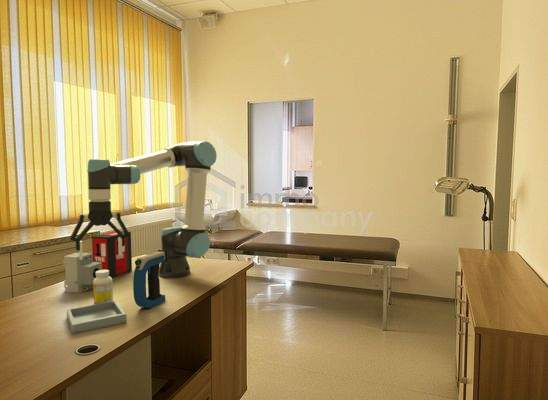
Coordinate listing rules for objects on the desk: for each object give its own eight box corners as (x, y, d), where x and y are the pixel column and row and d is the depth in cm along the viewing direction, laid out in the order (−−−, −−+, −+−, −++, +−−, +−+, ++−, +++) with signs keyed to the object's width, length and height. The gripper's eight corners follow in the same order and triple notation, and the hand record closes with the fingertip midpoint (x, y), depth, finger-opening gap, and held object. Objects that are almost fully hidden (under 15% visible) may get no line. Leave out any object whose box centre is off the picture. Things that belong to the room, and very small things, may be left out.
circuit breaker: (94, 293, 155) (93, 258, 154) (64, 291, 158) (63, 256, 157) (106, 288, 162) (104, 254, 161) (77, 286, 165) (75, 252, 164)
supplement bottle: (97, 301, 146) (96, 269, 145) (115, 300, 146) (114, 268, 145) (91, 307, 139) (89, 273, 138) (109, 307, 140) (108, 273, 139)
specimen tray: (116, 308, 139) (115, 300, 139) (126, 322, 126) (126, 313, 125) (66, 317, 130) (66, 309, 130) (72, 334, 117) (72, 325, 116)
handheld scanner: (170, 298, 149) (168, 249, 148) (143, 313, 134) (141, 258, 132) (160, 297, 150) (158, 249, 149) (133, 311, 135) (130, 258, 134)
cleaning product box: (109, 279, 175) (108, 237, 173) (93, 278, 177) (91, 236, 175) (131, 270, 190) (130, 231, 189) (117, 269, 193) (115, 231, 191)
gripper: (132, 198, 150) (133, 251, 151) (60, 201, 136) (62, 258, 137) (137, 200, 144) (138, 254, 145) (62, 202, 130) (64, 263, 131)
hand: (101, 256), depth 141 cm, fingers open, 13 cm apart
